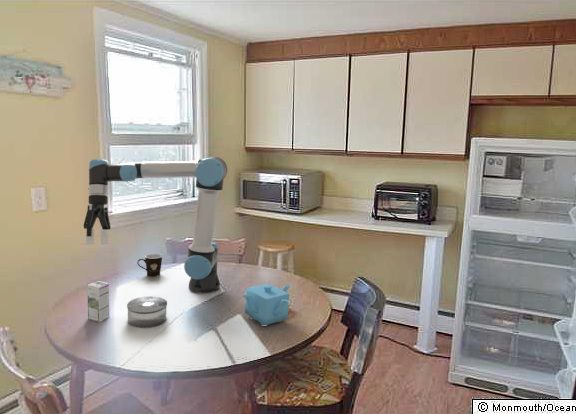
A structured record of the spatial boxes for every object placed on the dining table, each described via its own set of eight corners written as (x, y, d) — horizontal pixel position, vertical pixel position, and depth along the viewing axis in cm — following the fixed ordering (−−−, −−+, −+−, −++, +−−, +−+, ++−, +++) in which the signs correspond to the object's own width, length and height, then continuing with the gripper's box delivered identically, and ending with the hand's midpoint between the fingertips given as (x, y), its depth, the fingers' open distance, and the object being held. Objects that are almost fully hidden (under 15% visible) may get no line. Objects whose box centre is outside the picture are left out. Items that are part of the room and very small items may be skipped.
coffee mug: (164, 272, 221) (165, 254, 219) (158, 278, 213) (158, 259, 211) (143, 270, 222) (143, 252, 220) (136, 275, 214) (136, 257, 212)
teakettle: (248, 309, 182) (249, 277, 179) (290, 312, 180) (292, 280, 178) (239, 328, 163) (241, 292, 161) (287, 332, 162) (289, 297, 159)
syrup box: (110, 316, 166) (109, 282, 163) (98, 322, 160) (98, 287, 158) (98, 314, 167) (98, 279, 165) (87, 319, 162) (86, 284, 159)
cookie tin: (162, 310, 175) (162, 294, 174) (170, 324, 163) (171, 308, 161) (124, 315, 168) (124, 299, 167) (130, 331, 155) (130, 313, 154)
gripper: (102, 198, 192) (101, 244, 190) (74, 192, 167) (73, 244, 165) (118, 198, 192) (118, 243, 190) (93, 191, 167) (92, 244, 166)
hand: (97, 244), depth 178 cm, fingers open, 13 cm apart
